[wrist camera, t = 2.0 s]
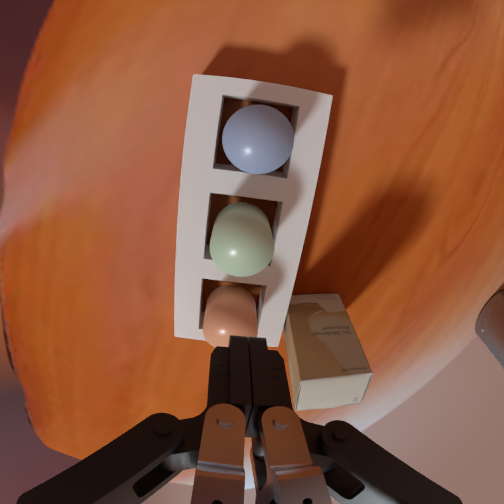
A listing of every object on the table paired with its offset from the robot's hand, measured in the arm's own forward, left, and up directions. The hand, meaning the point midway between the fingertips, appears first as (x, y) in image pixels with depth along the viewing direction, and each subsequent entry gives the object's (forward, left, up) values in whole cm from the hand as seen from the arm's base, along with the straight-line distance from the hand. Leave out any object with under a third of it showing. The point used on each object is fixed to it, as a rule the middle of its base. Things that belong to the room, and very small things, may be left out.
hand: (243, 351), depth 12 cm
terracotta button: (0, +8, -15) cm, 17 cm away
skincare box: (-9, +10, -18) cm, 22 cm away
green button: (0, 0, -15) cm, 15 cm away
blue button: (0, -8, -15) cm, 17 cm away
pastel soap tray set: (0, 0, -18) cm, 18 cm away
